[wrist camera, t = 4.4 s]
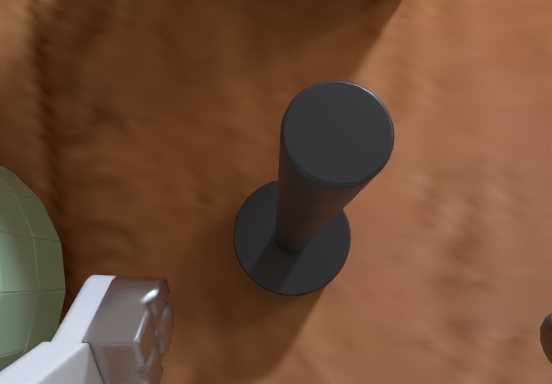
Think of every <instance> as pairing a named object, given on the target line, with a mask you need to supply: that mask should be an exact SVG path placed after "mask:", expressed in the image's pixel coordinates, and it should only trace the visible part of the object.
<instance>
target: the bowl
mask: <svg viewBox="0 0 552 384" xmlns="http://www.w3.org/2000/svg"><path fill="white" fill-rule="evenodd" d="M65 289H66V286H65V276H64V266H63V256H62V247H61V242H60V239H59V236H58V234H57V232H56V230H55V228H54V226H53V224H52V221H51V219H50V217H49V215H48V213H47V211H46V208H45V206H44V204H43V202H42V201H41V199H40V198H39V197H38V196H37V195H36V194H35V193H34V192H33V191H32V190H31V189H30V188H29V187H28V186H27V185H26V184H25V183H24V182H23V181H21V180H20V179H19V178H18V177H17V176H16V175H15V174H14V173H13V172H12V171H10V170H9V169H7V168H5V167H3V166H1V165H0V372H1V371H2V370H4V369H5V368H7V367H8V366H9V365H11V364H12V363H14V362H15V361H16V360H18V359H19V358H21V357H22V356H23V355H25V354H26V353H28V352H29V351H31V350H32V349H33V348H35V347H36V346H38V345H39V344H40V343H42V342H51V340H52V339H53V337H54V335H55V333H56V332H57V330H58V326H59V321H60V316H61V312H62V307H63V302H64V297H65V292H66V290H65Z"/></svg>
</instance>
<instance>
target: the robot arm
mask: <svg viewBox="0 0 552 384" xmlns="http://www.w3.org/2000/svg"><path fill="white" fill-rule="evenodd" d="M168 294H169V286H168V282H167V279H164V278H151V277H133V276H106V275H92V276H91V277H89V278H88V279H87V280H86V281H85V283H84V285H83V286H82V288H81V290H80V292H79V293H78V295H77V297H76V298H75V300H74V302H73V304H72V305H71V307H70V309H69V311H68V312H67V314H66V316H65V318H64V319H63V321H62V323H61V325H60V326H59V328H58V330H57V332H56V333H55V335H54V337H53V339H52V340H51V342H42V343H40V344H39V345H38V346H36V347H35V348H33V349H32V350H31V351H29V352H28V353H26V354H25V355H23V356H22V357H21V358H19V359H18V360H16V361H15V362H14V363H12V364H11V365H9V366H8V367H7V368H5V369H4V370H2V371H1V372H0V384H159V383H160V380H161V376H162V373H163V368H162V363H161V357H163V356H164V355H165V354H166V353H167V352H168V351H169V348H170V344H171V340H172V334H173V326H174V314H173V308H172V305H171V304H170V303H168V302H167V298H168ZM540 341H541V345H542V348H543V351H544V353H545V354H546V356H547V358H548V360H549V361H550V363H551V364H552V313H551V314H550V315H548V316H547V317H545V319H544V321H543V323H542V325H541V327H540Z"/></svg>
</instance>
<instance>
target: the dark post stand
mask: <svg viewBox="0 0 552 384" xmlns="http://www.w3.org/2000/svg"><path fill="white" fill-rule="evenodd" d="M393 145H394V128H393V123H392V120H391V117H390V114H389V113H388V111H387V109H386V107H385V106H384V104H383V103H382V102H381V100H380V99H379V98H378V97H377V96H376V95H374V94H373V93H372V92H371V91H369V90H368V89H366V88H364V87H362V86H360V85H358V84H355V83H352V82H348V81H340V80H332V81H325V82H321V83H317V84H315V85H312V86H310V87H308V88H306V89H305V90H303V91H302V92H301V93H299V94H298V95H297V96H296V97H295V98H294V99H293V100H292V101H291V103H290V104H289V106H288V107H287V109H286V111H285V113H284V116H283V119H282V123H281V132H280V152H279V171H278V180H277V181H273V182H270V183H268V184H266V185H264V186H262V187H260V188H259V189H258V190H256V191H255V192H254V193H253V194H251V195H250V196H249V197H248V199H247V200H246V201H245V202H244V204H243V205H242V207H241V209H240V211H239V213H238V215H237V218H236V221H235V225H234V236H233V240H234V248H235V252H236V255H237V258H238V260H239V263H240V264H241V266H242V268H243V270H244V271H245V272H246V274H247V275H248V276H249V277H250V278H251V279H252V280H253V281H254V282H255V283H257V284H258V285H259V286H261V287H263V288H264V289H266V290H268V291H271V292H273V293H277V294H281V295H288V296H298V295H304V294H308V293H312V292H314V291H316V290H319V289H321V288H322V287H324V286H325V285H327V284H328V283H329V282H330V281H332V280H333V279H334V278H335V277H336V275H337V274H338V273H339V272H340V270H341V269H342V267H343V265H344V263H345V261H346V259H347V256H348V253H349V248H350V239H351V238H350V227H349V222H348V219H347V216H346V214H345V212H344V210H343V208H344V207H345V206H346V205H347V204H348V203H349V202H350V201H351V200H352V199H353V198H354V197H355V196H356V195H357V194H358V193H359V192H360V191H361V190H362V189H363V188H364V187H365V186H366V185H367V184H368V183H369V182H370V181H371V180H372V179H373V178H374V177H375V176H376V175H377V174H378V173H379V172H380V171H381V170H382V169H383V168H384V166H385V165H386V164H387V162H388V160H389V158H390V156H391V153H392V150H393Z"/></svg>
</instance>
